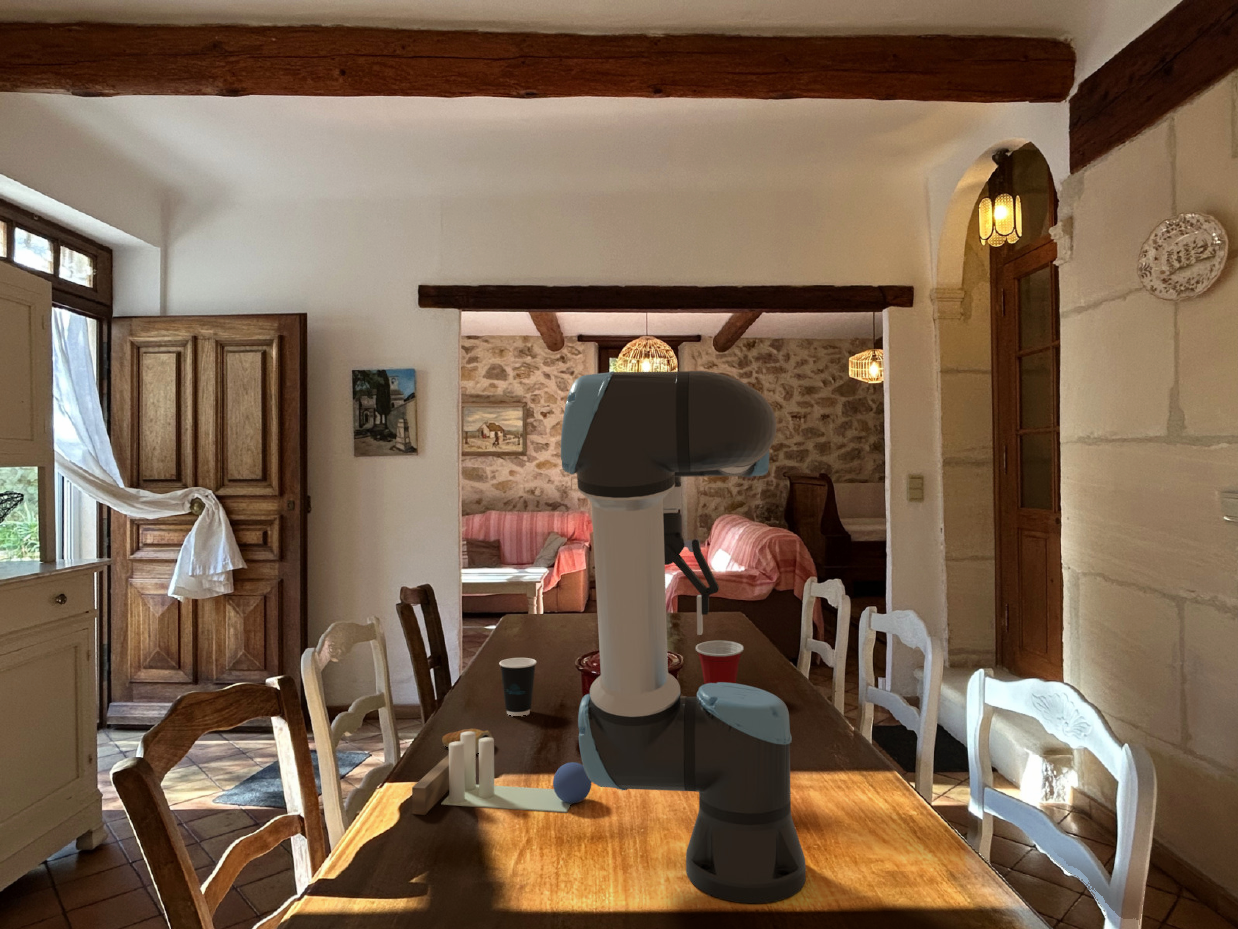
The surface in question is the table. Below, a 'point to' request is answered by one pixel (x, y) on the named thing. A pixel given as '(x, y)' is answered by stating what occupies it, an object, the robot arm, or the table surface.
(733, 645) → the plastic cup
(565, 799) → the ball
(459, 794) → the pin rear right
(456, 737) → the pastry
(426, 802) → the wall
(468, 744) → the pin rear left
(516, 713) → the dixie cup
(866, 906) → the table surface
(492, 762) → the pin front
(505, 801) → the strip
